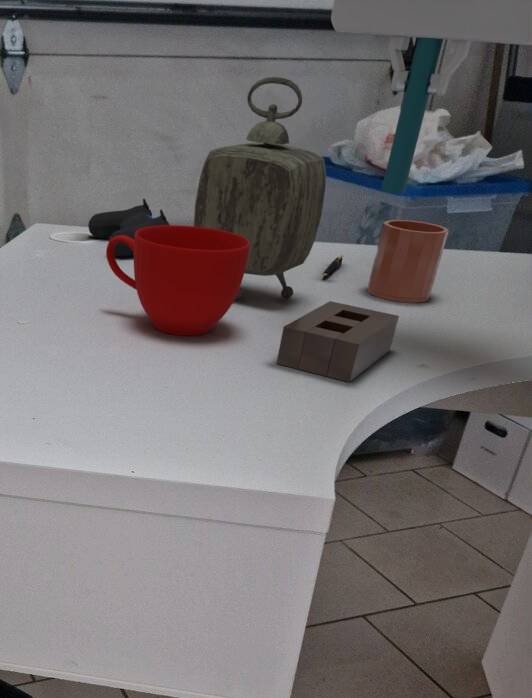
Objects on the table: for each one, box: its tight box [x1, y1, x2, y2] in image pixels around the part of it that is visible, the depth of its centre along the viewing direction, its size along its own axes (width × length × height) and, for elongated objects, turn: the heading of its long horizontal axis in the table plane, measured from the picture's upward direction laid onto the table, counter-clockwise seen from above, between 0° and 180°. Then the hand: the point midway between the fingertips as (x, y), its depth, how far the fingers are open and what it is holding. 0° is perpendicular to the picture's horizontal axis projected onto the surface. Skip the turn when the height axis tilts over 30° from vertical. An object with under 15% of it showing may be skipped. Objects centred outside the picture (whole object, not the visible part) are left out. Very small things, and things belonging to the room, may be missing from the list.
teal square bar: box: [381, 37, 444, 194], centre depth 86 cm, size 2×2×14 cm
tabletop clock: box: [193, 76, 327, 300], centre depth 105 cm, size 14×9×25 cm, turn 56°
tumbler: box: [367, 219, 450, 304], centre depth 115 cm, size 8×8×9 cm
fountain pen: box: [322, 254, 344, 278], centre depth 126 cm, size 14×1×2 cm, turn 155°
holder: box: [276, 300, 400, 383], centre depth 91 cm, size 8×14×4 cm, turn 146°
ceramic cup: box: [105, 224, 250, 336], centre depth 96 cm, size 13×17×10 cm
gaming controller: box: [87, 198, 170, 258], centre depth 131 cm, size 17×6×10 cm
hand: (416, 93), depth 85 cm, fingers closed on teal square bar, 2 cm apart
